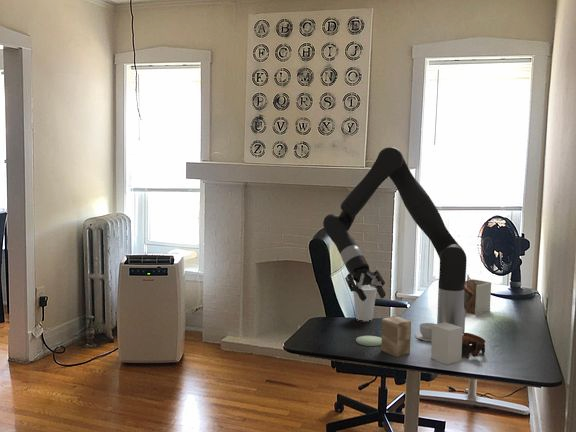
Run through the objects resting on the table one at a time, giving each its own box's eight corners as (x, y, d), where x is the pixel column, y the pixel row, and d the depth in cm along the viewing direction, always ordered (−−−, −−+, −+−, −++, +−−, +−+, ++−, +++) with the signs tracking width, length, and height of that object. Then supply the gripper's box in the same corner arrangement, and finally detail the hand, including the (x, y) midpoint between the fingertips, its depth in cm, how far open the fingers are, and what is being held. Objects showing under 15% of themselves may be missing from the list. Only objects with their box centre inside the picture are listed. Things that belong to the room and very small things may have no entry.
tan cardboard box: (395, 347, 214) (396, 316, 212) (410, 353, 208) (411, 321, 206) (381, 350, 210) (382, 318, 209) (396, 356, 204) (397, 323, 203)
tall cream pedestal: (444, 354, 207) (445, 322, 205) (461, 361, 201) (462, 327, 199) (431, 357, 203) (432, 324, 202) (447, 364, 197) (449, 330, 196)
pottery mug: (448, 353, 210) (456, 330, 212) (472, 364, 211) (480, 341, 213) (465, 355, 199) (474, 331, 200) (490, 367, 200) (499, 343, 202)
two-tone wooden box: (457, 311, 264) (458, 273, 262) (471, 307, 271) (473, 269, 270) (475, 315, 258) (477, 276, 256) (489, 311, 265) (491, 273, 263)
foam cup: (375, 323, 243) (376, 290, 242) (351, 321, 245) (352, 289, 244) (376, 316, 253) (377, 285, 251) (353, 315, 254) (354, 284, 253)
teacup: (410, 338, 225) (410, 325, 224) (423, 332, 232) (424, 320, 232) (435, 344, 218) (436, 331, 218) (448, 338, 226) (449, 325, 225)
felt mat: (372, 335, 227) (372, 334, 227) (390, 343, 218) (390, 341, 218) (350, 340, 221) (350, 338, 221) (368, 347, 213) (368, 346, 213)
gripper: (343, 256, 219) (363, 294, 210) (374, 253, 226) (395, 290, 218) (333, 268, 224) (353, 306, 216) (364, 265, 232) (384, 301, 223)
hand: (374, 298), depth 217 cm, fingers open, 8 cm apart
